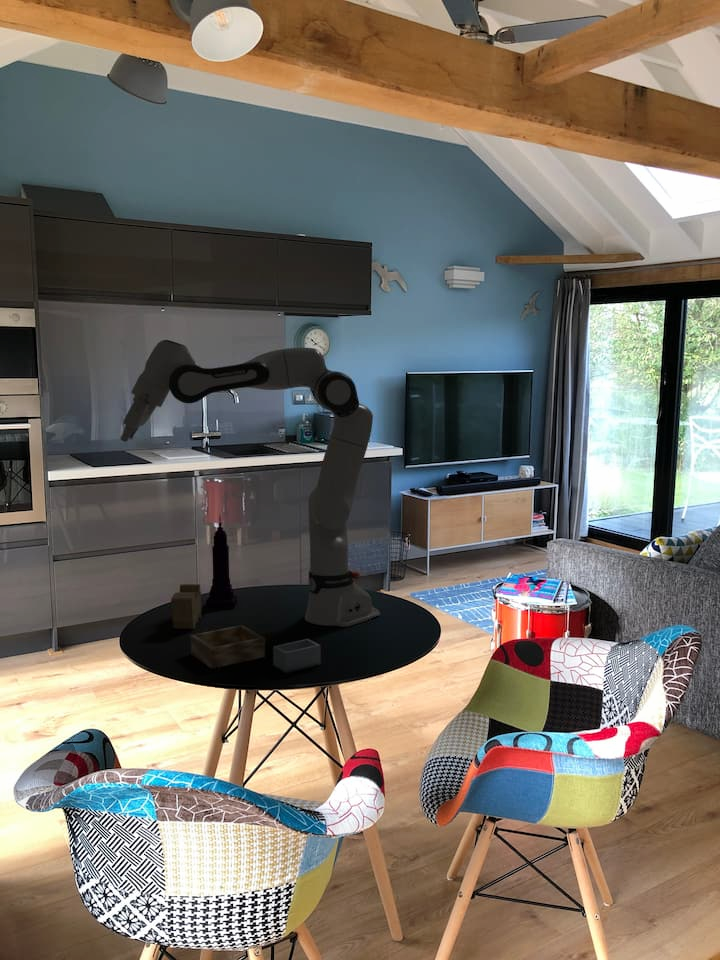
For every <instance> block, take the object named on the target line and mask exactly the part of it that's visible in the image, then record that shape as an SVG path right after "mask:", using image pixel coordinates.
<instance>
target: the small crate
mask: <svg viewBox="0 0 720 960" xmlns="http://www.w3.org/2000/svg"><path fill="white" fill-rule="evenodd" d="M321 651H322V650H321V644H320V643H319V644H318V643H317V642H315V641H313V640H311V639H309V638H305V639H301V640H295V641H291V642H287V643H283V644H282V643H281V644H278V645H274V646H272V655H273V656H272V657H273V658H272V661H273V667H274V666H275V667H274V668H275V669H278V670H279V669H280V670H279V671H281V672H283V673H284V674H288V673H289V674H290V673H292V672H296V671H297V672H298V671H300V670H304V669H309V668H313V667H317V666H316V665H318V666H321V665H320V664H322V663H321V659H322V658H321V655H322V654H321Z"/></svg>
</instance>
